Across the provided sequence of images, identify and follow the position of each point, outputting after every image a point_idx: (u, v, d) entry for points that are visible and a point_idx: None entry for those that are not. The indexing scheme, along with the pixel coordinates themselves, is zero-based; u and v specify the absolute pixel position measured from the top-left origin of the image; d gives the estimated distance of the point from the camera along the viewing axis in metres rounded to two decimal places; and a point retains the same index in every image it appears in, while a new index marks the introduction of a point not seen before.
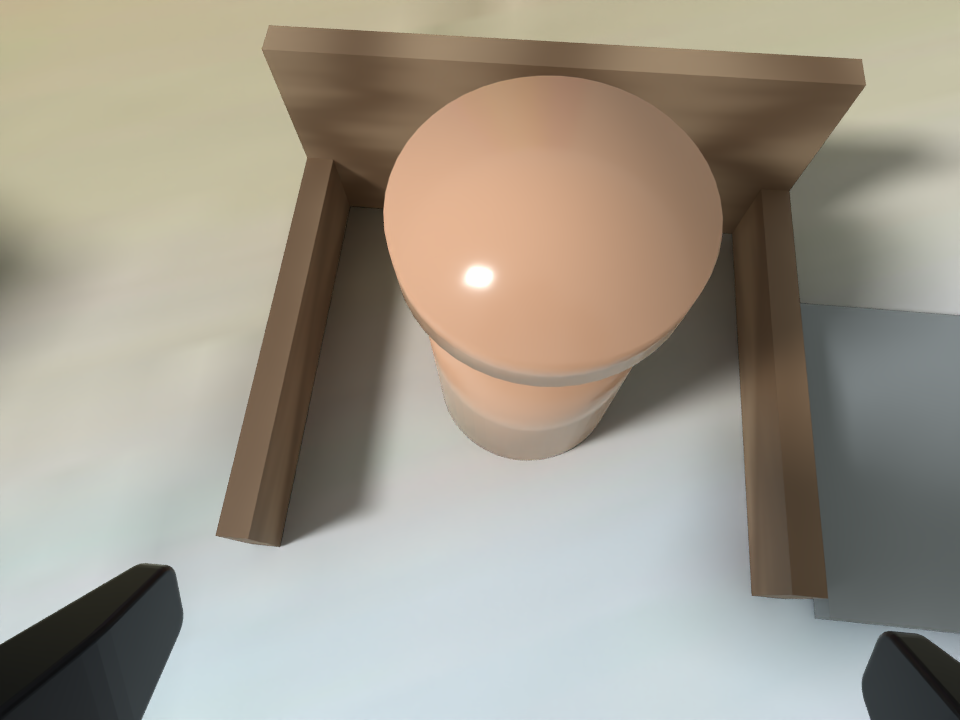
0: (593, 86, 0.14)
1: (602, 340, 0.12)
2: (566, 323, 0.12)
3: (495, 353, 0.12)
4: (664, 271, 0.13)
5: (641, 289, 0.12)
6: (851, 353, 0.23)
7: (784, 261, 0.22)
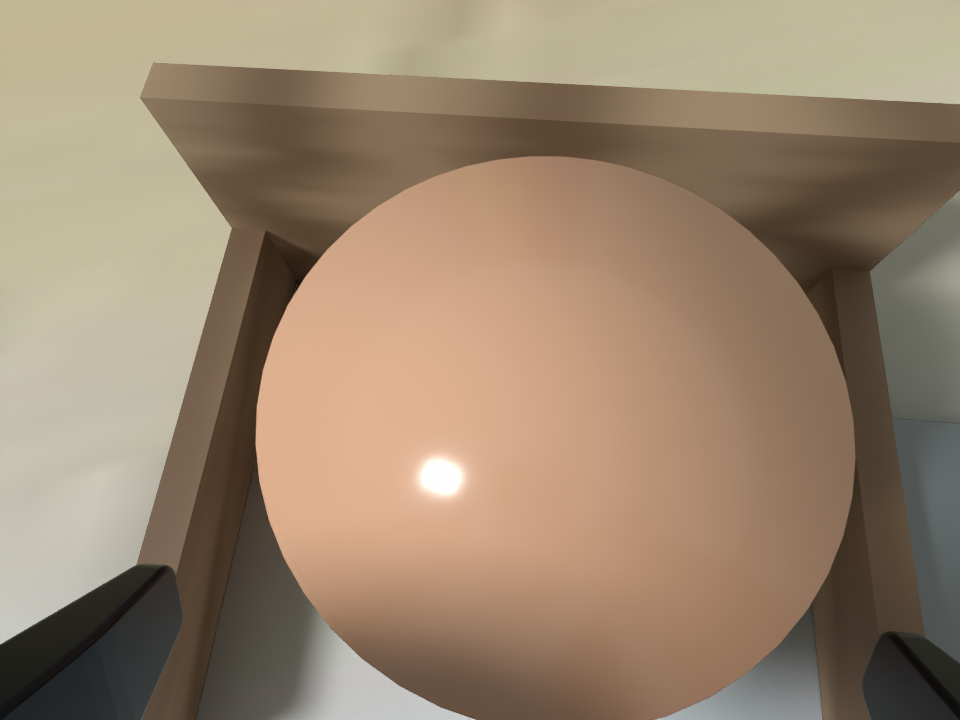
0: (618, 174, 0.09)
1: (646, 683, 0.06)
2: (579, 638, 0.07)
3: (444, 706, 0.06)
4: (755, 531, 0.07)
5: (715, 569, 0.07)
6: (956, 489, 0.17)
7: (869, 372, 0.16)
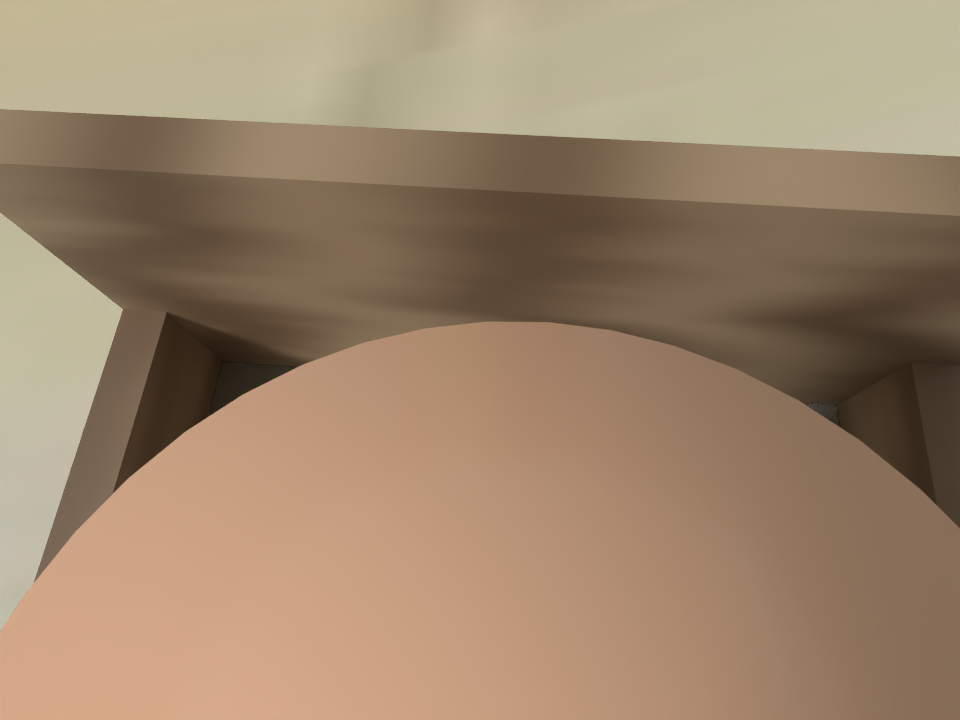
0: (654, 360, 0.05)
1: None
2: None
3: None
4: None
5: None
6: None
7: None
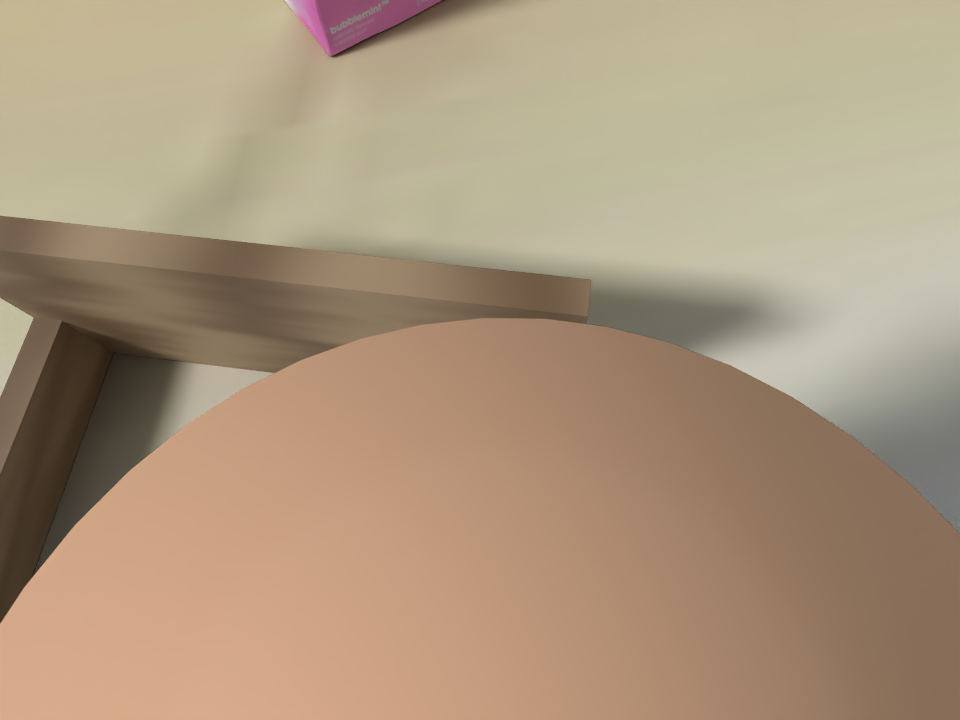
0: (648, 355, 0.05)
1: None
2: None
3: None
4: None
5: None
6: None
7: None
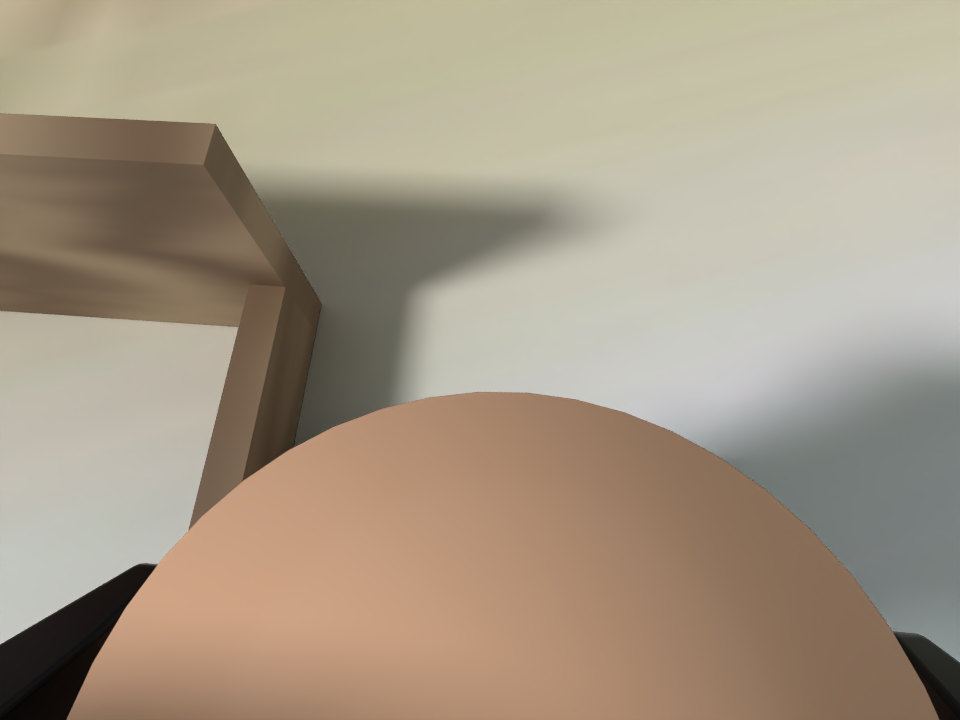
0: (607, 423, 0.06)
1: None
2: None
3: None
4: None
5: None
6: None
7: (246, 391, 0.16)
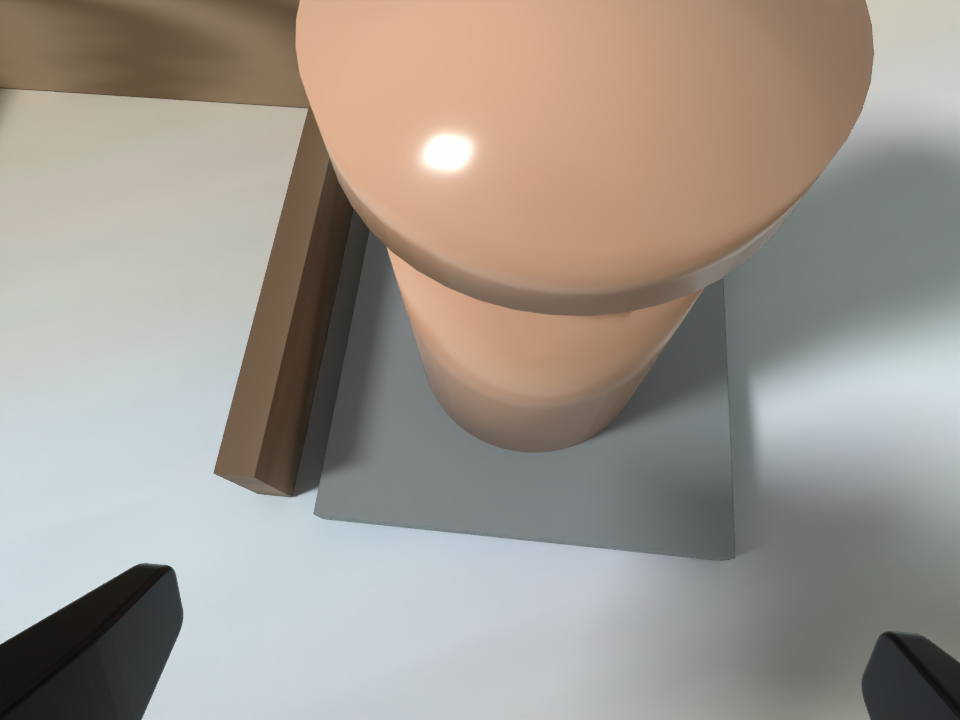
0: None
1: (673, 218, 0.07)
2: (608, 192, 0.07)
3: (480, 242, 0.07)
4: (777, 107, 0.07)
5: (739, 135, 0.07)
6: None
7: None
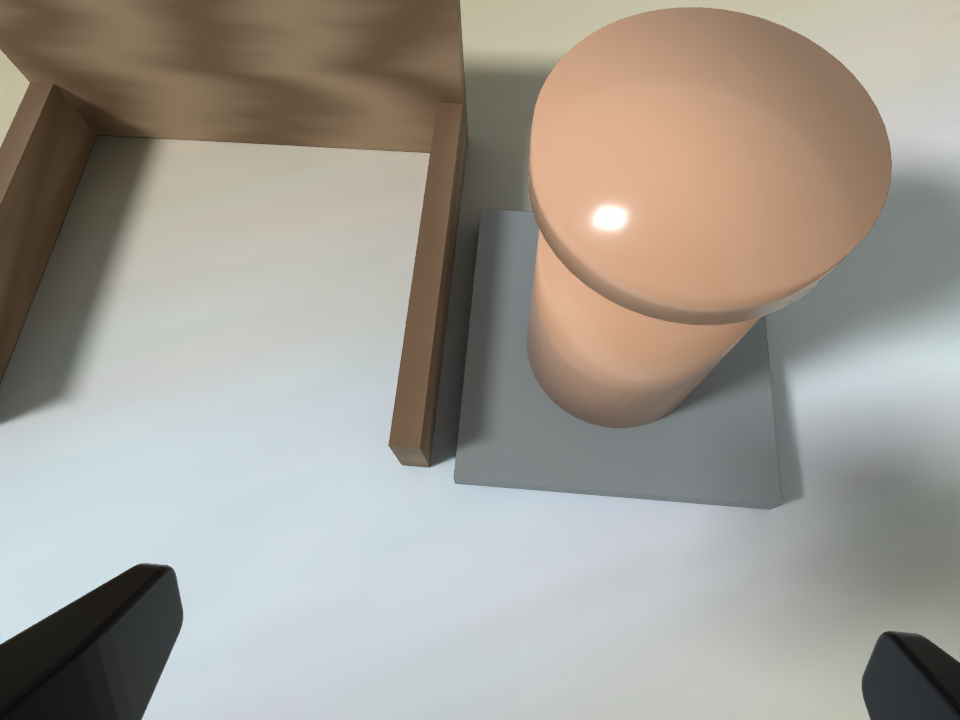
0: (737, 17, 0.14)
1: (778, 268, 0.12)
2: (737, 252, 0.12)
3: (666, 284, 0.12)
4: (835, 199, 0.12)
5: (813, 217, 0.12)
6: (519, 251, 0.24)
7: (444, 164, 0.24)
